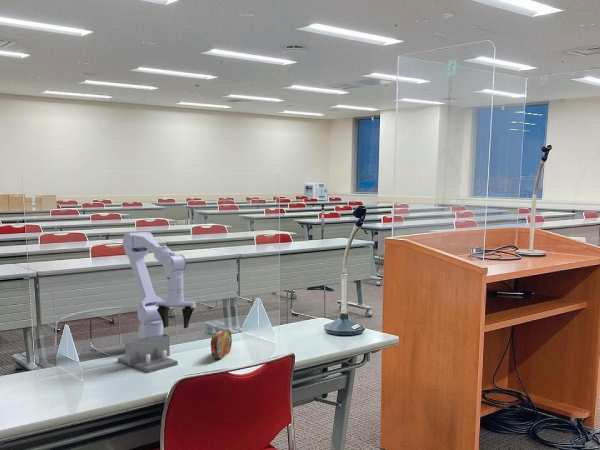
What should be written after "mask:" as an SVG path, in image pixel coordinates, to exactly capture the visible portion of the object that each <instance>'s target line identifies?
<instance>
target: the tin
mask: <svg viewBox="0 0 600 450" xmlns="http://www.w3.org/2000/svg"><path fill="white" fill-rule="evenodd" d="M232 339H233V338H232V334H231V331H230V329H228V328H226V329H220V330H219V331H218V332H216V333H215V334H214V335H212V337H211V340H210V349H211V350H210V351H211V356H212V358H213V359H217V360H218V359H220V360H222V359H223V358H225V357H226V356H227V355H229V353H230V352H231V350H232V344H233V343H232V342H233V341H232Z"/></svg>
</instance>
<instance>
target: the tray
mask: <svg viewBox="0 0 600 450" xmlns="http://www.w3.org/2000/svg"><path fill="white" fill-rule="evenodd" d="M119 361H120V362H119ZM117 362H119V363H121V362H123V363H122V364H124V363H126V355H124V356H119V357H117ZM127 364H128V363H126V364H125V365H127ZM129 365H130V364H129ZM129 365H128V366H129ZM132 366H133V367H132ZM174 366H178V360H175V359H173V358H170V357H167V356H166V350H163V351H162V358H159V359H154V360H150V354H147V355H146V361H145V362H140V363H135V364H131V366H130V367H132V368H135V369H137V368H138V370H141V371H143V372H145V373H148V374H149V373H153V372H156V371H160V370H162V369H167V368H171V367H174Z"/></svg>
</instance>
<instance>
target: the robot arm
mask: <svg viewBox="0 0 600 450" xmlns="http://www.w3.org/2000/svg"><path fill="white" fill-rule="evenodd" d="M122 245H123V249H124V253H125V256H126V257H128V261H129V263H130V266H131V269H132V273H133V276H134V279H135V283H136V285H137V286H136V287H137V289H138V292H139V296H140V299H141V300H140V301H139V302H138V303H137V305H136V310H137V319H138V321H139V323H140V324H139V326H138V329H137V331H138V339H140V338H146V337H152V336H157V335H163V334H164V328H167V327H169V322H170V321H169V315H170V313H169V312H170V308H182V309H181V312H182V317H183V318H182V319H183V328H184V329H187V328H189V324H190V320H191V317H192V314H193V312H194V310H195V308H196V307H197V306H196V301H192V300H191V301H190V300H185V298H184V297H185V296H184V271H185V270H186V268H187V259H186V257H185V256H184V255H183V254H176V253H175V252H174V251H173V250H171V249H170V248H168V246H167V245H160V244H159V243H158V242H157V241H156V240H155V239H154V235H153V234H152V233H151V232H150V231H139V232H125V234H124V235H123V238H122ZM149 252H151V253H153V257H154V259H156V260H157V261H158V262H159V263H161V265H162V269H164V276H165V277H166V300H163V298H161V297H159V296H158V295H156V293H155V290H154V287H153V284H152V280H151V277H150V274H149V270H148V268H147V265H146V262H145V259H144V258H145V256H148V254H149Z"/></svg>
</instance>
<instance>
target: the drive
mask: <svg viewBox="0 0 600 450" xmlns="http://www.w3.org/2000/svg"><path fill="white" fill-rule="evenodd" d="M124 344H125V346H124V348H125V356H126V363H128V364H130V365H131V364H135V363H140V362H145V361H146V355H147V354H150V360H154V359H159V358H162V351H163V350H166V356H167V358H169V357H170V355H171V354H170V353H171V352H170V351H171V350H170V349H171V348H170V335H168V334H165V333H163V335H157V336H152V337H146V338H140V339H139V338H136V339H129V340H125V341H124Z"/></svg>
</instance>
